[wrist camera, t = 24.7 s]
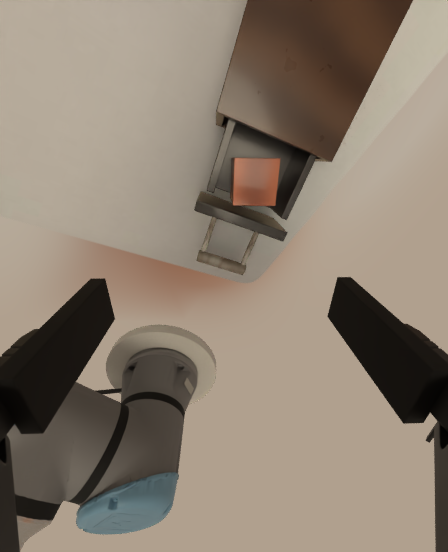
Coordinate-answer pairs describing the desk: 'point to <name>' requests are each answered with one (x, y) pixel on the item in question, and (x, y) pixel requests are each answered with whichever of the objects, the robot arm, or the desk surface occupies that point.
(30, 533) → the robot arm
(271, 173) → the block
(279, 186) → the drawer
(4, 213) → the desk surface
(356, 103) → the cabinet
